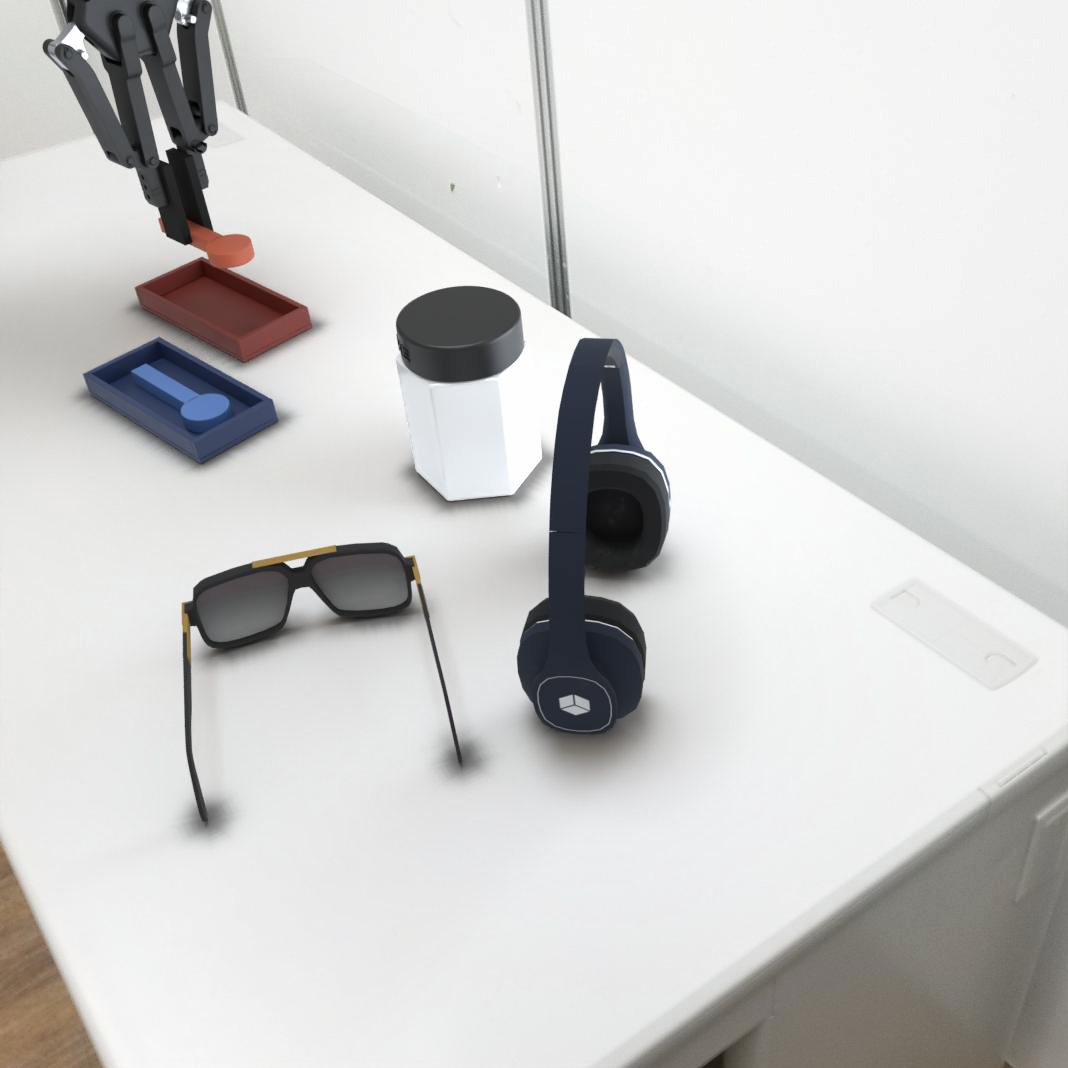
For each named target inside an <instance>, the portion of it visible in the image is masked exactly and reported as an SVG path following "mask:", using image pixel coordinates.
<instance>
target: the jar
mask: <svg viewBox="0 0 1068 1068" xmlns="http://www.w3.org/2000/svg"><path fill="white" fill-rule="evenodd" d="M395 328H396V342H397V347H398V351H399V354H398V355H397V356H396V357H395V359H394V360H395V365H396V370H397V376H398V381H399V388H400V391H401V392H400V393H401V398H402V403H403V408H404V414H405V419H406V424H407V430H408V431H407V432H408V436H409V441H410V442H409V443H410V446H411V447H410V448H411V452H412V457H413V462H414V463H413V464H414V468H415V471H416V472H417V474H419V475H420V476H421V477H422V478H423V479H424V480H425V481H426V482H427V483H428V484H429V485H431V487H432V488H434V489H435V490H436V491H437V492H438V493H439V494H440V495H441V496H442V497H443V498H444V499H445V500H446V501H448V502H454V501H455V502H456V501H465V500H474V499H485V498H495V497H504V496H505V497H506V496H513V495H514V494H515V493H516V492H517V490H518V489H519V488H520V486H522V484H523V483H524V482H525V480H526V479H527V478H528V476H529V475H530V474H531V473H532V471H533V470H534V469H535V468H536V467H537V466H538V464H539V463H540V462H541V460H542V459H543V454H542V443H541V434H540V424H539V423H540V422H539V413H538V402H537V392H536V391H537V390H536V384H535V383H536V382H535V381H536V380H535V372H534V360H533V352H532V345H531V344H530V343H529V342H528V341H526V339H524V329H523V328H524V327H523V318H522V310H521V307H520V305H519V303H518V302H517V301H516V300H515V299H514V298H513V297H512V296H511V295H509V294H507V293H505V292H504V291H501V290H498V289H495V288H492V287H487V286H480V285H457V286H450V287H443V288H439V289H435V290H432V291H429V292H426V293H424V294H421V295H419V296H417V297H415V298H414V299H412V300H411V301H409V302H408V303H407V304H406V305H405V306H403V308H402V309H401V310H400V311H399V313H398V315H397V317H396V320H395Z"/></svg>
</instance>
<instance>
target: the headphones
mask: <svg viewBox="0 0 1068 1068" xmlns="http://www.w3.org/2000/svg"><path fill="white" fill-rule="evenodd" d="M630 376H631V375H630V369H629V365H628V360H627V355H626V352H625V348H624V346H623V344H622V342H621V341H620V340H619V339H618V338H605V337H604V338H603V337H602V338H601V337H599V338H598V337H583V338H580V339H579V340H578V342H577V344H576V346H575V348H574V350H573V353H572V355H571V358H570V361H569V364H568V368H567V372H566V376H565V381H564V384H563V389H562V392H561V393H562V394H561V398H560V402H559V408H558V413H557V422H556V430H555V438H554V447H553V457H552V467H551V469H552V470H551V482H550V483H551V484H550V495H549V496H550V497H549V518H548V519H549V522H548V524H549V525H548V559H547V560H548V564H547V565H548V574H547V575H548V576H547V577H548V581H547V582H548V583H547V584H548V588H547V589H548V592H547V593H548V597H546V598H544V599H543V600H541V601H540V602H538V604H536V605H535V606H534V607H533V608H532V609H530V610H529V611H528V614H527V617H526V620H525V624H524V626H523V629H522V632H521V635H520V639H519V647H518V650H517V655H516V666H517V667H516V668H517V674H518V678H519V682H520V685H521V689H522V691H524V693H525V695H526V696H527V698H528V699H529V701H530V702H531V703H532V705H533V708H534V711H535V714H536V715H537V717H538V719H539V720H540V722H541V723H542V724H543V725H545V726H547V727H548V728H549V729H551V730H553V731H557V732H561V733H565V734H572V735H573V734H574V735H590V736H591V735H600V734H605V733H607V732H608V731H610V730H611V729H613V728H614V726H615V724H616V722H617V720H619V719H623V718H624V717H626V716H628V715H629V714H631V713H633V712H634V711H636V710H637V708H638V706H639V704H640V701H641V699H642V696H643V690H644V682H645V680H646V664H647V642H646V636H645V632H644V630H643V628H642V626H641V624H640V622H639V620H638V617H636V614H635V613H634V612H633V611H632V610H630V609H629V608H627V607H626V606H625V605H624V604H622V603H621V602H620V601H617V600H613V599H609V598H606V597H603V596H596V595H590V594H589V595H588V594H585V593H586V590H585V587H586V586H585V584H586V582H585V581H586V579H585V578H586V566H588V567H590V568H593V569H596V570H602V571H603V570H604V571H609V572H622V571H623V572H625V571H626V572H627V571H635V570H638V569H642V568H646V567H648V566H649V565H650V564H652V563H653V561H655V560H656V559H657V558H658V557H659V556H660V554H661V552H662V549H663V547H664V543H665V540H666V537H667V535H668V533H669V527H670V520H671V519H670V518H671V509H672V508H671V507H672V497H671V486H670V485H671V484H670V480H669V477H668V474H667V471H666V469H665V465H664V464H663V463H662V462H661V461H660V460H659V459H658V458H657V457H656V456H655V455H654V454H653V453H652V451H648V450H646V449H645V448H644V446H643V444H642V441H641V440H640V437H639V435H638V430H637V426H636V422H635V416H634V404H633V394H632V383H631V377H630ZM600 387H601V394H602V406H603V423H602V433H601V436H600V438H599V440H598V443H597V444H595V445H592V441H593V433H594V426H595V425H594V423H595V418H596V417H595V416H596V409H597V404H598V399H599V398H598V397H599V391H600Z"/></svg>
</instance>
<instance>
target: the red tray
mask: <svg viewBox="0 0 1068 1068" xmlns="http://www.w3.org/2000/svg"><path fill="white" fill-rule="evenodd" d="M133 288H134V291H135V294H136V297H137V299H138V303H139V306H140V308H142V309H144V310H146V311H148V312H150V313H152V314H153V315H155V316H157V317H159V318H161V319H163V320H164V321H166V322H168V323H170V324H172V325H173V326H175V327H177V328H179V329H181V330H183V331H184V332H186V333H188V334H190V335H192V336H194V337H195V338H198V339H200V340H202V341H203V342H205V343H207V344H209V345H211V346H212V347H214V348H216V349H218V350H220V351H222V352H223V353H226V354H227V355H229V356H231V357H233V358H235V359H237V360H239V361H240V362H242V363H246V362H248V361H250V360H252V359H254V358H256V357H258V356H259V355H261V354H264V353H265V352H267V351H269V350H271V349H273V348H275V347H277V346H279V345H281V344H282V343H284V342H286V341H288V340H291V339H292V338H294V337H296V336H298V335H300V334H302V333H304V332H306V331H307V330H309V329H311V328H313V325H312V320H311V316H310V312H309V307H308V306H306V305H304V304H303V303H299V301H296V300H294V299H292V298H289V297H288V296H285V295H283V294H281V293H280V292H277V291H275V290H273V289H271V288H268V287H267V286H265V285H263V284H260V283H259V282H256V281H254V280H253V279H251V278H249V277H246V276H244V275H242V274H241V273H240V274H239V273H238V272H235V271H233V270H231V269H230V268H216V267H214V266H212V265H211V264H210V262H209V259H208V258H206V257H204V256H200V257H198V258H196V259H192V260H191V261H189V262H186V263H184V264H183V265H182V264H181V265H180V266H177V267H176V268H174V269H171V270H169V271H167V272H165V273H163V274H160V275H158V276H156V277H154V278H152V279H149V280H147V281H145V282H143V283H140V284H139V285H136V286H134V287H133Z"/></svg>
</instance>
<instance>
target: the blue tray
mask: <svg viewBox="0 0 1068 1068" xmlns="http://www.w3.org/2000/svg"><path fill="white" fill-rule="evenodd" d="M144 364H147V365H149V366H151V367H153V368H154V369H156V370H158V371H159V372H161V373H163V374H165V375H166V376H168V377H170V378H171V379H173V380H175V381H177V382H178V383H180V384H182V385H183V386H185V387H187V388H189V389H190V390H192V391H194V392H195V393H197V394H199V395H203V394H220V395H223V396H225V397H226V398H227V399H228V400H229V402H230V405H231V409H232V412H233V417H232V418H231V419H229V420H227V421H225V422H223V423H221V424H220V425H218V426H216V427H214V428H212V429H210V430H209V431H207V432H205V433H195V432H192V431H190V430H188V429H187V428H186V427H185V424H184V421H183V418H182V415H181V411H179V410H178V409H176V408H174V407H173V406H171V405H169V404H168V403H166V402H164V401H163V400H161V399H159V398H158V397H156V396H155V395H153V394H151V393H150V392H148V391H146V390H145V389H143V388H141V387H140V386H138V385H136V384H135V382H134V379H133V376H132V373H131V371H132V370H134V369H136V368H138V367H140V366H142V365H144ZM82 377H83V379H84V381H85V384H86V387H87V389H88V392H89V395H90V396H92V397H93V398H95V399H97V401H100V402H102V403H103V404H104V405H106V406H107V407H110V408H111V409H112V410H114V411H116V412H117V413H119V414H120V415H122V416H123V417H125V418H127V419H128V420H130V421H132V422H133V423H135V424H136V425H138V426H139V427H141V428H143V429H144V430H146V431H148V432H149V433H150V434H152V435H154V436H155V437H157V438H159V439H160V440H162V441H164V442H165V443H166V444H168V445H170V446H171V447H173V448H175V449H176V450H178V451H180V452H181V453H183V454H184V455H185V456H187V457H189V458H191V459H192V460H193V461H195V462H197V463H198V464H200V465H202V464H204V463H207V462H208V461H209V460H210V459H213V458H215V457H216V456H218V455H220V454H221V453H222V454H223V452H225V451H227V450H229V449H231V448H232V447H234V446H236V445H238V444H239V443H241V442H244V441H245V440H246V439H248V438H250V437H252V436H254V435H256V434H257V433H259V432H261V431H263V430H265V429H267V428H269V427H270V426H271V425H273V424H275V423H277V422H278V421H279V418H278V415H277V412H276V408H275V407H276V406H275V404H274V400H273V399H272V398H271V397H269V396H267V395H265V394H263V393H261V392H259V391H258V390H256V389H254V388H253V387H251V386H249V385H248V384H247V385H246V384H245V383H244V382H241V381H240V380H238V379H236V378H234V377H232V376H231V375H229V374H227V373H226V372H223V371H222V370H220V369H218V368H216V367H215V366H213V365H211V364H209V363H207V362H206V361H204V360H202V359H200V358H198V357H196V356H195V355H193V354H191V353H189V352H188V351H186V350H184V349H183V348H181V347H179V346H177V345H174V344H173V343H171V342H169V341H167V340H166V339H164V338H163V337H161V336H158V337H156V338H154V339H152V340H150V341H148V342H146V343H143V344H142V345H139V346H137V347H135V348H133V349H131V350H129V351H127V352H125V353H123V354H121V355H118V356H117V357H115V358H113V359H110V360H108V361H106V362H104V363H102V364H100V365H98V366H96V367H94V368H92V369H90V370H88V371H86V372H83V373H82Z"/></svg>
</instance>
